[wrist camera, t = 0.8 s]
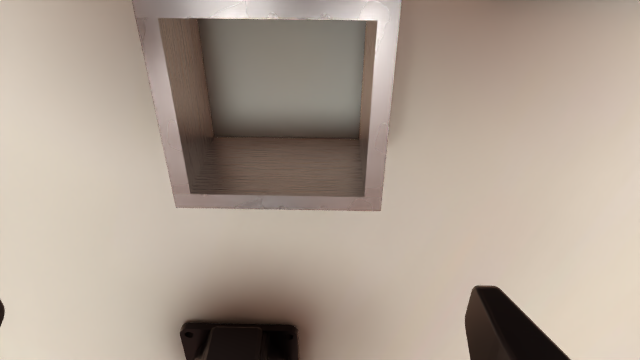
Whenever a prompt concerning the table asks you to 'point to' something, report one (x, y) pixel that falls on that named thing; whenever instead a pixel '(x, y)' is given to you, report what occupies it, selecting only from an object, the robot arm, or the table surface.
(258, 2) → the box
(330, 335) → the table surface
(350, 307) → the table surface
